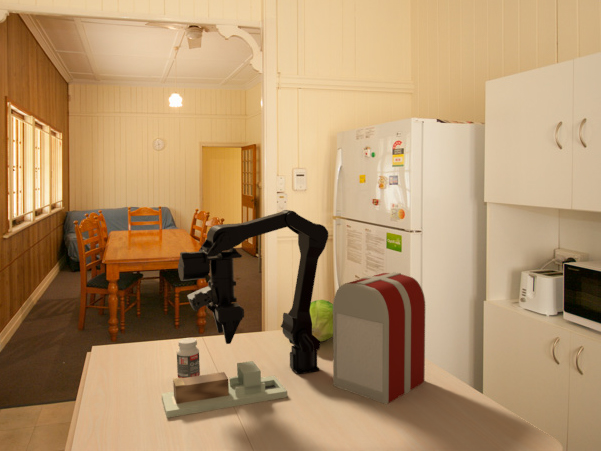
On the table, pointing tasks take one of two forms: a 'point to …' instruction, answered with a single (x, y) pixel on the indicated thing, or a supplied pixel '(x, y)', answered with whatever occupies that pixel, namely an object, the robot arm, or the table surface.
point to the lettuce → (322, 319)
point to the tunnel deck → (231, 392)
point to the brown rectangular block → (200, 387)
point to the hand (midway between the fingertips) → (224, 338)
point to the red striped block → (379, 336)
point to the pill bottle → (188, 358)
